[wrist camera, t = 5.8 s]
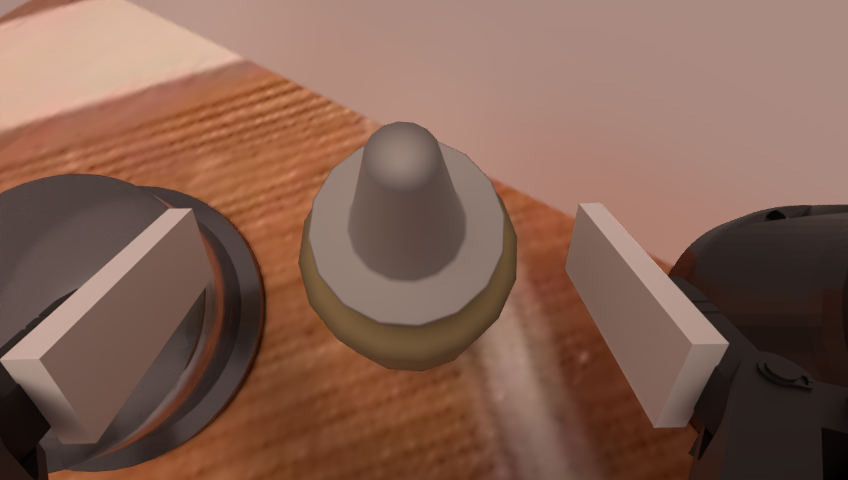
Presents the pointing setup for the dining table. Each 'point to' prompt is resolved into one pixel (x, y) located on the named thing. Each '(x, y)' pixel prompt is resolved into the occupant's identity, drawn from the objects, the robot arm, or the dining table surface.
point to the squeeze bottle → (408, 250)
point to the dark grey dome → (189, 344)
